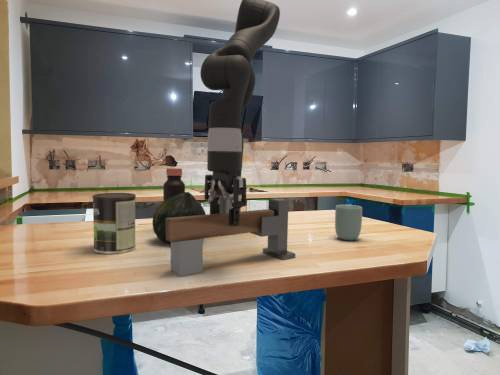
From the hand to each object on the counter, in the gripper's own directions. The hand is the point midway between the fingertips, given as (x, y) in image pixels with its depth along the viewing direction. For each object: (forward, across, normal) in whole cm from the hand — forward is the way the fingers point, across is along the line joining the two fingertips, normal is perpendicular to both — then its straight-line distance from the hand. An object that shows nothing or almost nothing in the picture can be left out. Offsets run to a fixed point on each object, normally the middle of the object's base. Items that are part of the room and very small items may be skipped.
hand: (223, 222), depth 82 cm
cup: (+10, +3, -45) cm, 46 cm away
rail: (+3, 0, 0) cm, 3 cm away
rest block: (+10, 0, +9) cm, 13 cm away
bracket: (+10, 0, -13) cm, 16 cm away
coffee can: (+10, +26, +17) cm, 33 cm away
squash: (+10, +26, -1) cm, 28 cm away
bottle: (+10, +40, -5) cm, 41 cm away
